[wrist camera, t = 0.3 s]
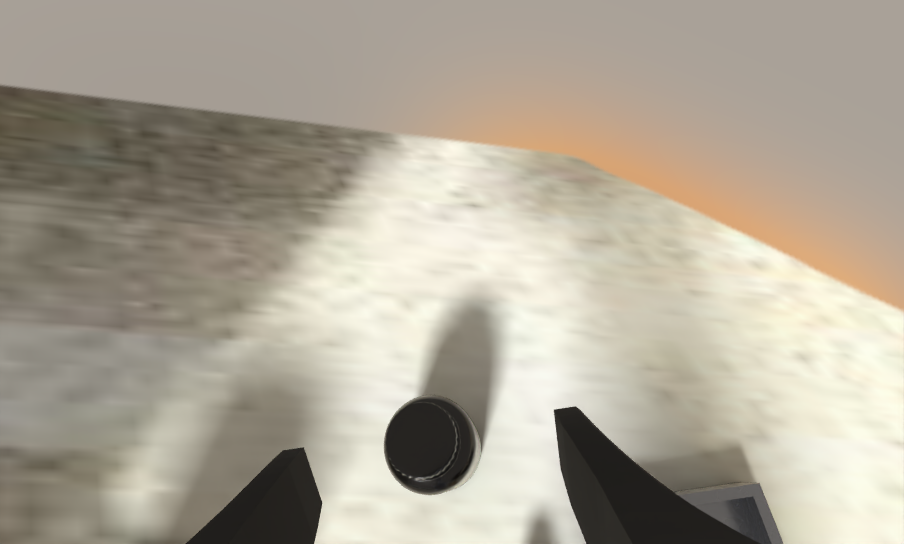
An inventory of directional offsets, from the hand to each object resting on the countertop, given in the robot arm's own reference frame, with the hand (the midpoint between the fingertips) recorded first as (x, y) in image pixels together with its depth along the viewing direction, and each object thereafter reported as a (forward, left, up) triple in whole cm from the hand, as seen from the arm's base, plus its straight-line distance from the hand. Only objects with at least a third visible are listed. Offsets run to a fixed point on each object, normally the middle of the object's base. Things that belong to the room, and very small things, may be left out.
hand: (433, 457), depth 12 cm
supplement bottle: (+2, +3, -29) cm, 29 cm away
